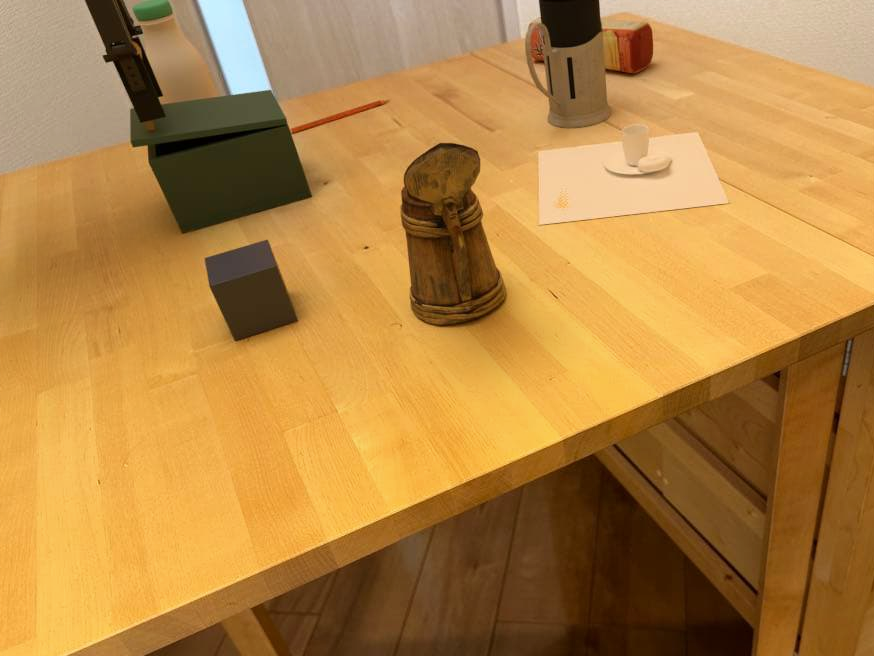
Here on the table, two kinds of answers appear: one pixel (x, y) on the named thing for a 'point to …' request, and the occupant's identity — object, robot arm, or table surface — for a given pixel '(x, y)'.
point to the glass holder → (572, 62)
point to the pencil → (337, 116)
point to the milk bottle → (172, 55)
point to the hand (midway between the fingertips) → (152, 107)
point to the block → (250, 290)
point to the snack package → (614, 44)
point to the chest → (228, 175)
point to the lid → (207, 117)
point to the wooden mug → (448, 238)
